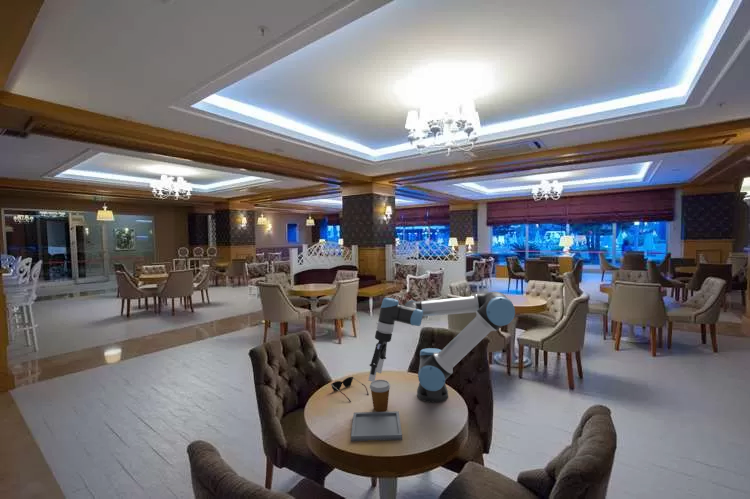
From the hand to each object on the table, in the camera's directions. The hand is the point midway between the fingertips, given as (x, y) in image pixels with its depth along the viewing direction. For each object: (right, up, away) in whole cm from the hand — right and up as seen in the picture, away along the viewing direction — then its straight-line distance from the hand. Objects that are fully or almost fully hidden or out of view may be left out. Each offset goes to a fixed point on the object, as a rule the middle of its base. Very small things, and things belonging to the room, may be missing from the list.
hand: (375, 376), depth 163 cm
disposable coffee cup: (+3, -15, 0) cm, 15 cm away
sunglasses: (-12, -15, +17) cm, 26 cm away
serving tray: (+1, -16, -15) cm, 22 cm away
